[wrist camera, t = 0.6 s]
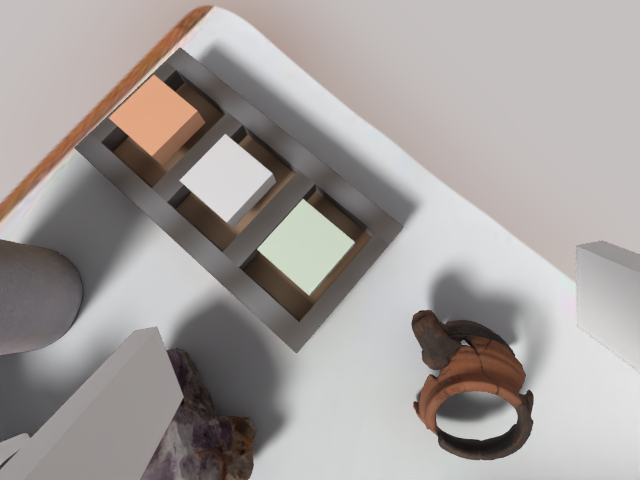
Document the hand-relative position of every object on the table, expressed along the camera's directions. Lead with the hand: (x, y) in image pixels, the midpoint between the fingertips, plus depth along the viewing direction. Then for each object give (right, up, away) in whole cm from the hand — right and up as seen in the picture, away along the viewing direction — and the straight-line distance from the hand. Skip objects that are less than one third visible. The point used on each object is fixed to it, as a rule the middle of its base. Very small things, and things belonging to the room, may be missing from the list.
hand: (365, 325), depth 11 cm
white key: (-9, +8, +21) cm, 24 cm away
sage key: (-3, +2, +19) cm, 20 cm away
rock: (-13, -14, +21) cm, 28 cm away
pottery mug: (+10, -9, +21) cm, 25 cm away
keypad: (-9, +7, +24) cm, 27 cm away
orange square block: (-16, +13, +22) cm, 30 cm away
